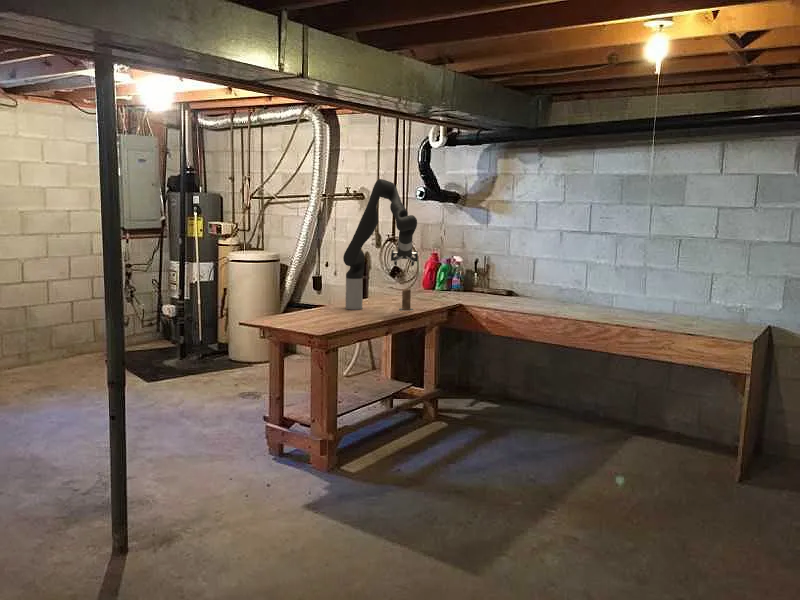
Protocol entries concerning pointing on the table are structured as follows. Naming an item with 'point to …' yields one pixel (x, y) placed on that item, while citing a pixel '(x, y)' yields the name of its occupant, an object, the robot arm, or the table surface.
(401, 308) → the mat
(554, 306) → the table surface
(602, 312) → the table surface
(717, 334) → the table surface
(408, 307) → the block
